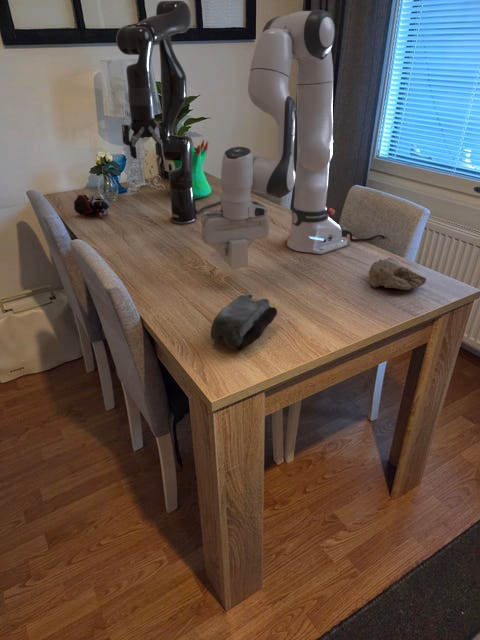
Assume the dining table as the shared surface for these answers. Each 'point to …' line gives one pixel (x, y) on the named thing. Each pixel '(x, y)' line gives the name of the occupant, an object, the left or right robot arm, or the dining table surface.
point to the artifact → (393, 275)
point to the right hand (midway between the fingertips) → (235, 253)
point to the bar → (235, 253)
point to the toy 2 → (198, 171)
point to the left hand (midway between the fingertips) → (146, 156)
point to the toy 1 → (90, 206)
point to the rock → (242, 322)
